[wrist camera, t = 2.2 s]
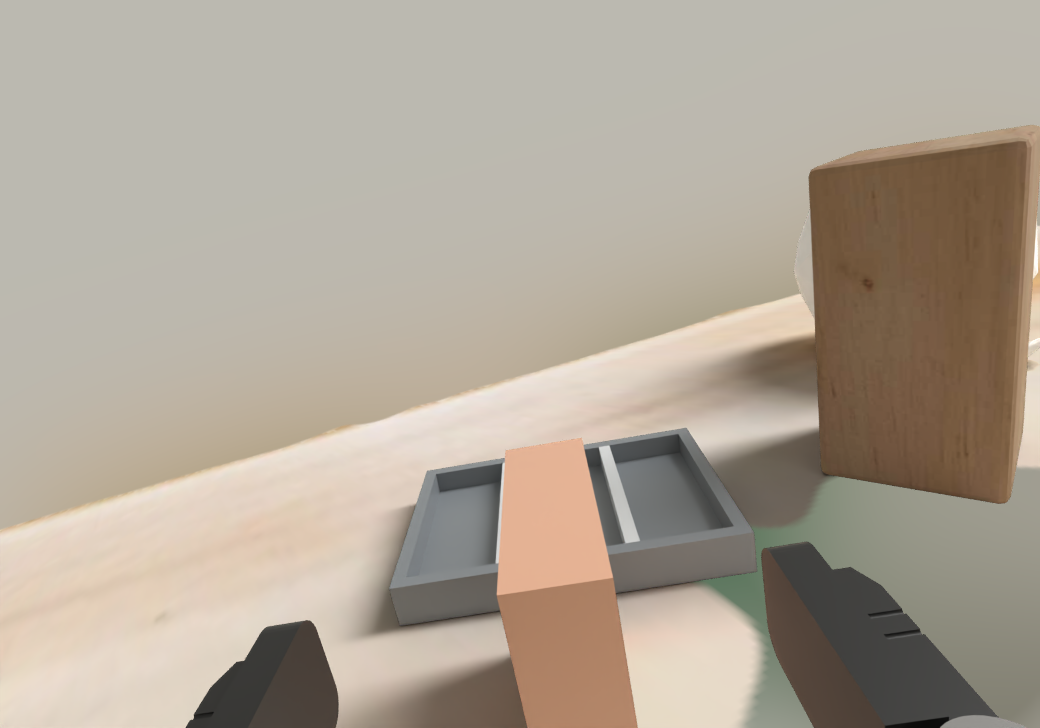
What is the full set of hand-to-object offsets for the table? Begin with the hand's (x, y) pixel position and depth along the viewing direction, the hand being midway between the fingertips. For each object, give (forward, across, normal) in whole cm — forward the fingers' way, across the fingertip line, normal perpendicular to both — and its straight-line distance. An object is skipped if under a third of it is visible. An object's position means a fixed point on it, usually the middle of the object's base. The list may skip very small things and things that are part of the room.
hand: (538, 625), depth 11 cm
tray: (+27, 0, +15) cm, 30 cm away
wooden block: (+29, -24, +15) cm, 40 cm away
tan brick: (+12, 0, +15) cm, 19 cm away
